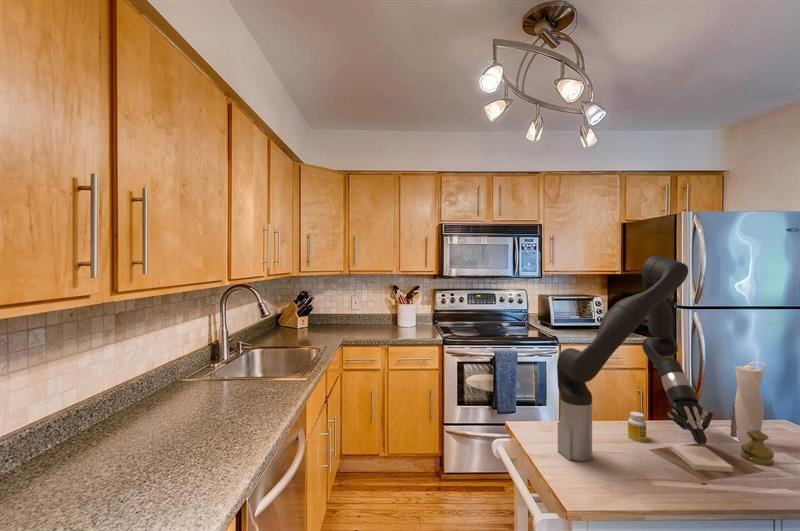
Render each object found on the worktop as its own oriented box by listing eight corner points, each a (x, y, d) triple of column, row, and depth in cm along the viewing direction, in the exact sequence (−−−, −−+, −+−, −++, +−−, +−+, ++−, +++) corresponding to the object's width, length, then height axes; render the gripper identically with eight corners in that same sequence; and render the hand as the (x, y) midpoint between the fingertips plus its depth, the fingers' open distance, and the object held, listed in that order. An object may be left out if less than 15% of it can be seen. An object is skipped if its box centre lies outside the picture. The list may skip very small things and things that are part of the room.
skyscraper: (761, 442, 131) (762, 360, 131) (768, 452, 124) (768, 365, 124) (729, 436, 136) (730, 357, 136) (734, 445, 129) (734, 362, 129)
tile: (671, 449, 123) (694, 469, 111) (671, 445, 123) (694, 464, 111) (705, 451, 122) (732, 472, 110) (705, 446, 122) (732, 466, 110)
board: (703, 484, 106) (703, 480, 106) (648, 453, 123) (648, 449, 123) (765, 475, 110) (765, 471, 110) (703, 446, 128) (703, 442, 128)
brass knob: (777, 472, 112) (777, 438, 112) (743, 465, 116) (743, 432, 116) (770, 461, 118) (770, 429, 118) (738, 455, 122) (738, 423, 122)
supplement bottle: (632, 436, 135) (632, 409, 135) (649, 442, 130) (649, 414, 130) (624, 440, 132) (624, 412, 132) (641, 447, 127) (641, 418, 127)
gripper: (695, 395, 129) (720, 449, 117) (652, 393, 131) (673, 446, 119) (705, 384, 124) (733, 440, 112) (661, 383, 125) (683, 437, 113)
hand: (702, 443), depth 115 cm, fingers closed
